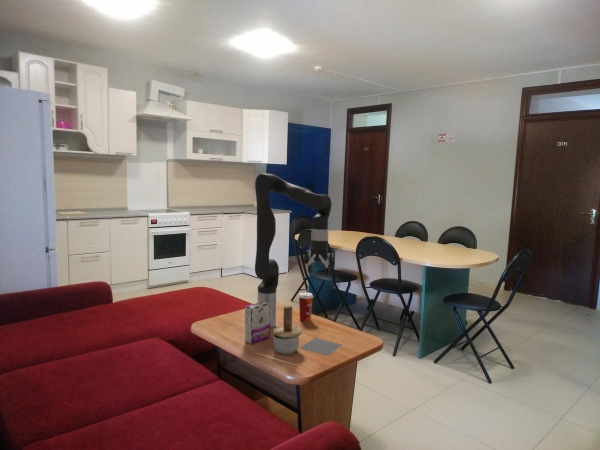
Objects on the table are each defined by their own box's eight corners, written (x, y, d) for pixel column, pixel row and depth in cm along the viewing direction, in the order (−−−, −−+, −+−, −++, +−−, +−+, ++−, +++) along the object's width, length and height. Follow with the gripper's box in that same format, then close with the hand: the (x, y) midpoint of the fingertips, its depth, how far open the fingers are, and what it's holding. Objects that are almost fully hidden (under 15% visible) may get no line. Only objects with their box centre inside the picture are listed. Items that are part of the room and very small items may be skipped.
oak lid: (267, 333, 167) (268, 308, 166) (283, 325, 177) (283, 301, 176) (292, 339, 161) (292, 313, 160) (306, 331, 171) (307, 306, 170)
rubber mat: (299, 348, 172) (299, 347, 172) (315, 338, 184) (315, 337, 184) (328, 356, 165) (328, 355, 165) (342, 345, 177) (342, 344, 177)
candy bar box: (262, 335, 187) (263, 300, 185) (270, 338, 184) (270, 303, 182) (244, 341, 179) (244, 305, 177) (251, 344, 175) (251, 308, 174)
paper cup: (311, 323, 205) (311, 296, 204) (296, 321, 207) (297, 295, 205) (313, 318, 213) (314, 292, 212) (299, 317, 214) (300, 291, 213)
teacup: (289, 359, 161) (289, 340, 160) (267, 353, 167) (268, 334, 166) (307, 348, 173) (307, 330, 172) (286, 342, 179) (286, 325, 178)
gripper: (301, 238, 180) (300, 274, 181) (330, 241, 172) (328, 278, 174) (310, 236, 186) (309, 271, 188) (337, 239, 179) (336, 275, 180)
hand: (318, 274), depth 181 cm, fingers open, 8 cm apart
